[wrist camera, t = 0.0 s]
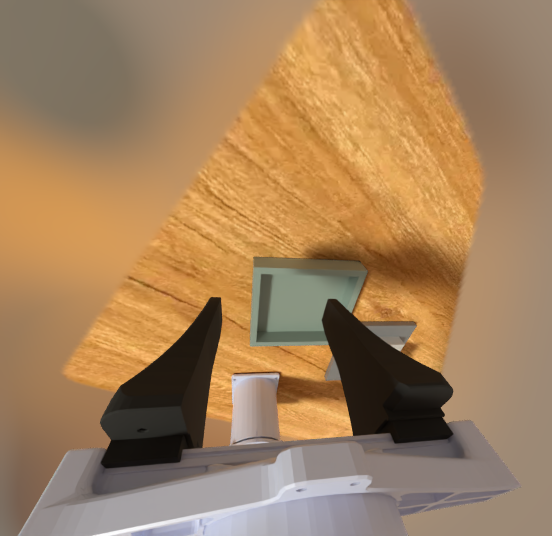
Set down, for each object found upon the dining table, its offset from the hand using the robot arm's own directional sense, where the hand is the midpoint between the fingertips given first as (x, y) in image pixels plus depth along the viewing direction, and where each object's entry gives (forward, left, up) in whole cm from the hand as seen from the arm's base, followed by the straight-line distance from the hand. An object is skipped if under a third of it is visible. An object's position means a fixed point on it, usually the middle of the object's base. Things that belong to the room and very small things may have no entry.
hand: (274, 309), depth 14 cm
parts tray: (-8, -5, -10) cm, 14 cm away
